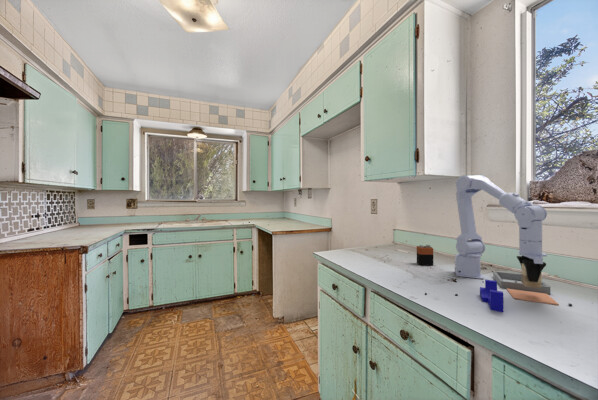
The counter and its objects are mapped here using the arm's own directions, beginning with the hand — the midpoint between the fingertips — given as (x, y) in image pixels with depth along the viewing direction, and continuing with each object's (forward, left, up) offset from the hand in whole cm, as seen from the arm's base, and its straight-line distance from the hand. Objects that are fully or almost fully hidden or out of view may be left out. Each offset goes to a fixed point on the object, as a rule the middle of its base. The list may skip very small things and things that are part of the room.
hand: (530, 279), depth 83 cm
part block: (0, 0, -2) cm, 2 cm away
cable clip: (-13, -11, -6) cm, 19 cm away
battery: (-33, +28, -6) cm, 43 cm away
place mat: (0, 0, -6) cm, 6 cm away
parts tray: (0, +13, -6) cm, 14 cm away
